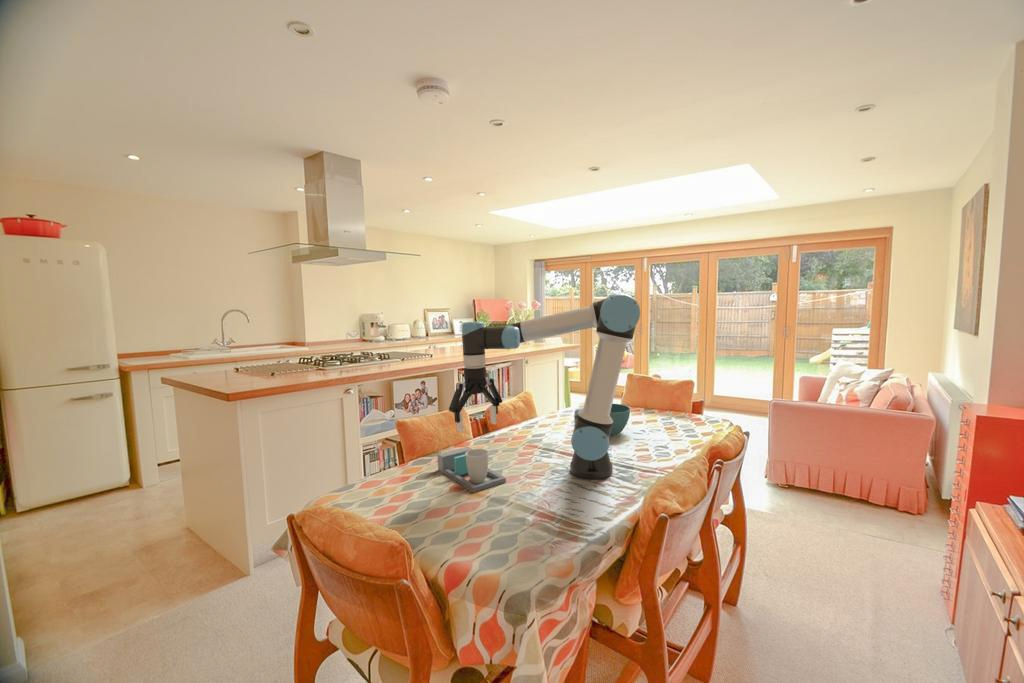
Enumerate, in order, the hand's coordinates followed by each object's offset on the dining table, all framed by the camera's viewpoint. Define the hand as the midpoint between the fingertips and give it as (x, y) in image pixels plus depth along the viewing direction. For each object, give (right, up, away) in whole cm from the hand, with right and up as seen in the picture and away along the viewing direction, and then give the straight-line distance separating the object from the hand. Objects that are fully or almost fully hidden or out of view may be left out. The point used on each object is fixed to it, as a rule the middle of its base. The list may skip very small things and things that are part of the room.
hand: (477, 427), depth 151 cm
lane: (-3, -18, +6) cm, 20 cm away
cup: (0, -19, +2) cm, 19 cm away
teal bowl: (+58, -13, +52) cm, 78 cm away
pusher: (-5, -18, +9) cm, 21 cm away
